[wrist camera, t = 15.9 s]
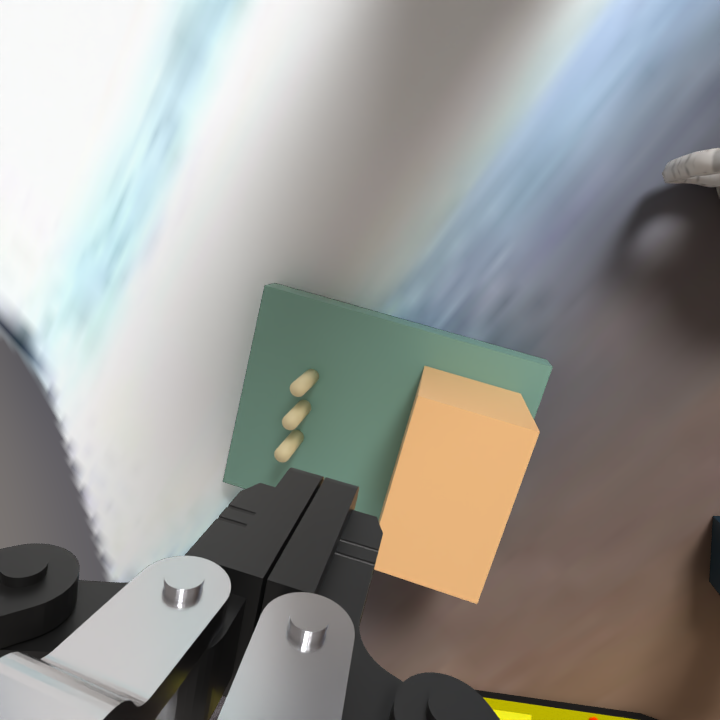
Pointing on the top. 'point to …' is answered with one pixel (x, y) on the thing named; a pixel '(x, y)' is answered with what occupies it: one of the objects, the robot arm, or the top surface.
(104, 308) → the top surface
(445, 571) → the block
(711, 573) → the watch
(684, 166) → the mug
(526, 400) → the header board
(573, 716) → the game console
